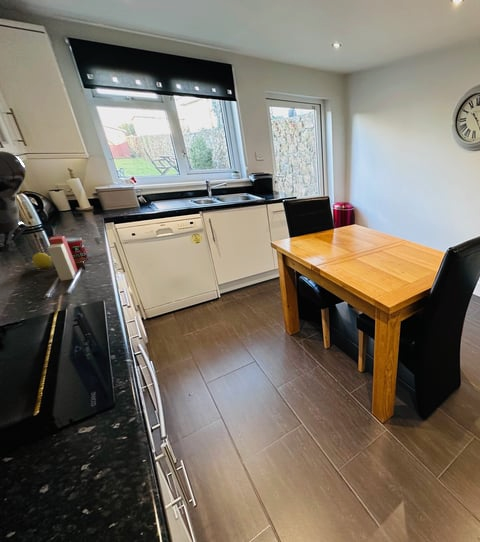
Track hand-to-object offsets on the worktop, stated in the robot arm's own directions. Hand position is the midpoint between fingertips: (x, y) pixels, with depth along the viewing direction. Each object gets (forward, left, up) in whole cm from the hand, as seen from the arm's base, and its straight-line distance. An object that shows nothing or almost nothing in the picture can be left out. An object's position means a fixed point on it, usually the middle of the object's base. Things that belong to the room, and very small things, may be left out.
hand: (1, 250), depth 89 cm
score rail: (+7, +18, -21) cm, 28 cm away
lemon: (-4, +43, -21) cm, 48 cm away
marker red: (+7, +27, -19) cm, 34 cm away
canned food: (+6, +50, -21) cm, 55 cm away
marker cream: (+7, +22, -19) cm, 30 cm away
